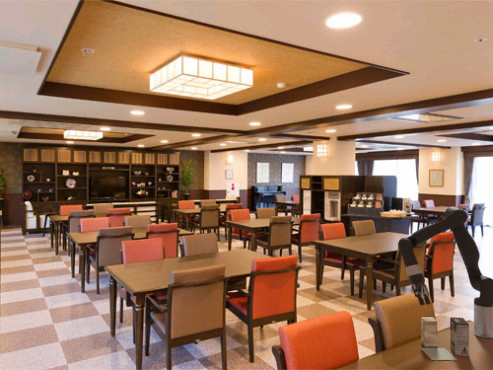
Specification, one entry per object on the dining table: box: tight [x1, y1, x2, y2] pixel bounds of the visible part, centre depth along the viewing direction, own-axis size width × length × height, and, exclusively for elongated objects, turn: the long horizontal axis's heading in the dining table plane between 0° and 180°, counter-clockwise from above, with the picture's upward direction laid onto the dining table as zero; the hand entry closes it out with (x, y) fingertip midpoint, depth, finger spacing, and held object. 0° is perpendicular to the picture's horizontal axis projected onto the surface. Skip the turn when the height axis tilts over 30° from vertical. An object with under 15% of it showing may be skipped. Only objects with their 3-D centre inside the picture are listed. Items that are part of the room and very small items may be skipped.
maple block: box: [420, 316, 438, 348], centre depth 199 cm, size 5×6×14 cm
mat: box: [420, 347, 458, 362], centre depth 189 cm, size 13×12×1 cm
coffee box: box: [449, 316, 470, 357], centre depth 191 cm, size 9×6×16 cm
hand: (425, 304), depth 200 cm, fingers open, 8 cm apart
